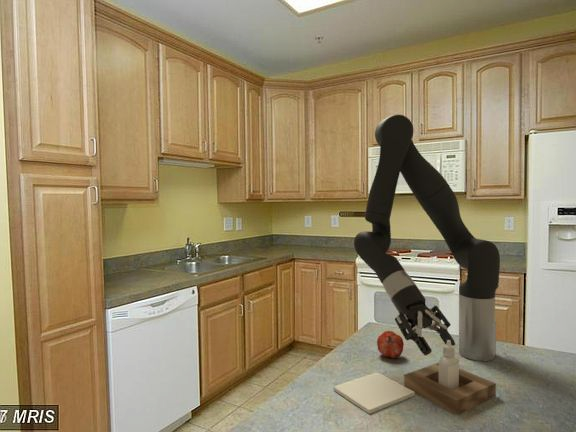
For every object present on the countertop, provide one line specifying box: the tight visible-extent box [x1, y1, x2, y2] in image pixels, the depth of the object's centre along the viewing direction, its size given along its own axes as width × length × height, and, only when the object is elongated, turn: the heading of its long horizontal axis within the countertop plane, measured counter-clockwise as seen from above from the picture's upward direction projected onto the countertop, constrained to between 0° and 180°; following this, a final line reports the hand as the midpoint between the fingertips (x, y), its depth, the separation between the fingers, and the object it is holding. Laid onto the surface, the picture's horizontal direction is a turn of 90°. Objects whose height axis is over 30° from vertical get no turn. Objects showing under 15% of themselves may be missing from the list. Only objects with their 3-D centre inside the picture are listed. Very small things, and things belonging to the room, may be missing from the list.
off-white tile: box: [332, 372, 416, 415], centre depth 88 cm, size 14×12×1 cm
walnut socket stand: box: [403, 362, 497, 416], centre depth 88 cm, size 14×14×3 cm
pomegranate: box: [376, 330, 405, 359], centre depth 109 cm, size 7×7×10 cm
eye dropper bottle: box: [438, 340, 460, 390], centre depth 88 cm, size 4×6×12 cm
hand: (440, 350), depth 89 cm, fingers open, 8 cm apart
